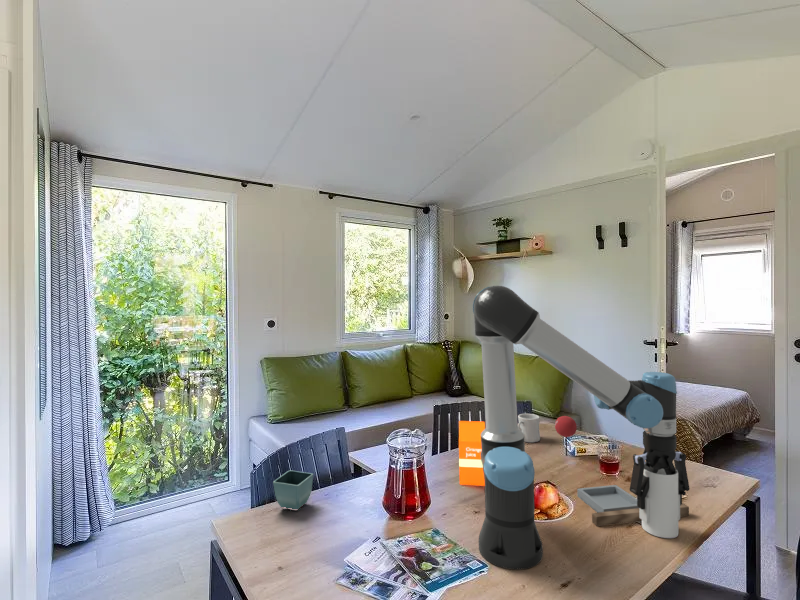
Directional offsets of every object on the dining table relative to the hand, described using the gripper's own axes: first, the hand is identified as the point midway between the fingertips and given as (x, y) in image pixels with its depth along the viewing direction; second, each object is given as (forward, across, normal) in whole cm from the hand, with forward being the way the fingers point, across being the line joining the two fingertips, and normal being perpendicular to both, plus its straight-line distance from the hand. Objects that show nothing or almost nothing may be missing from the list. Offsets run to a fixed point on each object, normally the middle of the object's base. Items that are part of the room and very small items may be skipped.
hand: (659, 518), depth 113 cm
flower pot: (+4, -96, +32) cm, 101 cm away
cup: (+3, 0, 0) cm, 3 cm away
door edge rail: (+3, -1, +6) cm, 7 cm away
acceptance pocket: (+3, -4, +15) cm, 16 cm away
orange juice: (+4, -38, +39) cm, 54 cm away
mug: (+3, -3, +72) cm, 72 cm away
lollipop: (+3, +4, +53) cm, 53 cm away
